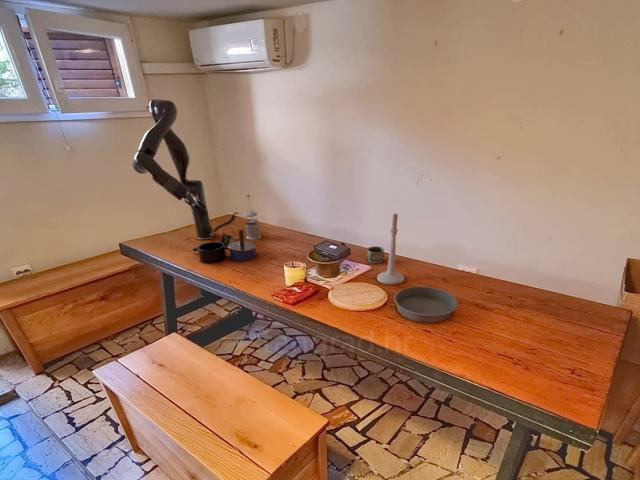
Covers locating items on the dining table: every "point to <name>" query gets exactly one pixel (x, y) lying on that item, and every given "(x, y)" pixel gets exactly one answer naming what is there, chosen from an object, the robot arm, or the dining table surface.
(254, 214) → the french press
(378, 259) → the vessel
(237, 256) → the blue round bowl
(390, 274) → the candlestick
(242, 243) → the lid
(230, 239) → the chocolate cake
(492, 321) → the dining table surface
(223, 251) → the pot
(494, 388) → the dining table surface
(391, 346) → the dining table surface
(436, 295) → the cake pan
